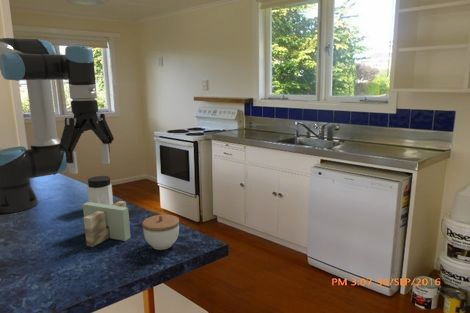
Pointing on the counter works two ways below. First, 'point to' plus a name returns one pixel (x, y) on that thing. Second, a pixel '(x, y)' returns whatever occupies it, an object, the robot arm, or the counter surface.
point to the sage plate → (112, 219)
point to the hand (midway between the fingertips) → (90, 168)
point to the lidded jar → (161, 231)
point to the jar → (100, 190)
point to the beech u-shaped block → (98, 226)
